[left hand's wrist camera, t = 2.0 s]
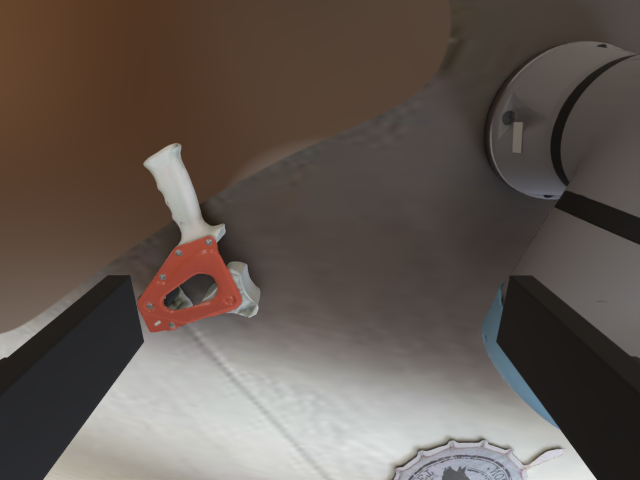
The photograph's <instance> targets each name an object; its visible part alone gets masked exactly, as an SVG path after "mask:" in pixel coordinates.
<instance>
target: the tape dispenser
mask: <svg viewBox="0 0 640 480" xmlns="http://www.w3.org/2000/svg"><path fill="white" fill-rule="evenodd" d="M180 152H181V145H180V144H178V143H175V144H172V145H169V146H167V147H165V148H163V149H162V150H160V151H159V152H158V153H156V154H154V155H152V156H151V157H149V158H148V159H147V160H146V161H145V162H144V166H145V167H146V168H147V169H148V170H149V171H150V172H151V173H152V175H153V176H154V178H155V180H156V182H157V188H158V189H159V190H160V191H161V192H162V194H163V195H164V197H165V203H166V204H167V205H168V206H169V208H170V210H171V212H172V218H173V220H174V221H175V222H176V223H177V224H178V226H179V228H180V230H181V233H182V238H181V241H180V243H179V244H178V246H176V247H175V248H174V249H173V251H172V252H171V254H170V255H169V257H168V258H167V259H166V261H165V262H164V264H163V265H162V267H161V268H160V270H159V271H158V272H157V274H156V275H155V277H154V278H153V280H152V281H151V283H150V284H149V286H148V287H147V288H146V290H145V291H144V292H143V293H142V294H141V295H140V297H139V298H138V302H137V307H138V309H139V311H140V313H141V315H142V316H143V318H144V321H145V323H146V325H147V327H148V329H149V331H150V332H159V331H164V330H168V331H173V330H175V329H177V328H178V327H180V326H182V325H184V324H187V323H191V322H194V321H196V320H199V319H203V318H205V317H212V316H216V315H219V314H224V313H236V314H239V315H241V316H245V317H248V318H249V317H251V316H253V315H256V314H257V311H258V302H259V298H260V289H259V288H258V287H257V286H255V284H254V283H253V282H252V281H251V279H250V277H249V274H248V268H247V264H245V263H243V262H236V261H235V262H230V263H228V265H227V266H226V265H225V263H224V262H223V260H222V258H221V256H220V254H219V251H218V246H217V242H218V241H219V240H220V239H221V237H222V236H223V235H224V234H225V232H226V230H225V224H220V225H217V226H210V225H209V224H207V223H206V222H205V221H204V220H203V218H202V214H201V210H200V207H199V203H198V200H197V196H196V193H195V190H194V188H193V185H192V182H191V180H190V177H189V175H188V172H187V170H186V168H185V166H184V164H183V162H182V160H181V154H180ZM198 273H202V274H208V275H211V276H212V277H213V278H214V280H215V282H216V283H214V284H212V286H211V287H210V288H209V289H208V291H207V293H206V295H205V297H204V299H203V300H202V302H201V303H200V304H198V305H195V306H193V304H192V302H191V301H190V299H189V298H188V297H187V296H186V295H185V294H184V293H183V291H182V290H181V288H180V286H179V285H180V284H182V283H184V282H185V281H186V280H187V279H189V278H190V277H192V276H193V275H195V274H198Z"/></svg>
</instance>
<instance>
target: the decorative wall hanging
mask: <svg viewBox="0 0 640 480" xmlns="http://www.w3.org/2000/svg"><path fill="white" fill-rule="evenodd" d="M513 452H514V450H513V449H509V450H503V449H501V448H498V447H495V446H492V445H489V444H488V441H487V440H482V441H481V442H479V443H457V442H456V441H454V440H452V441H449V442H448V444H447V445H445V446H442V447H438V448H435V449H432V450H429V451H423V450H421V451H419V452H418V455H417V457H416V458H414V459H413V460H412V461H410V462H409V463H408V464H406V465H405V466H404V467H401V468H396V469H395V472H396V476H395V478H394V480H528V476H527V470H528V469H530V468H531V467H533V466H536V465H538V464H541V463H543V462H546V461H549V460H552V459H554V458H556V457H558V456H560V455H562V454H563V453H564V452H565V450H564V449H556V450H550V451H547V452H545V453H544V454H542V455H541V456H539V457H538V458H537V459H536V460H534V461H533V462H532V463H531V464H529V465H523V464H522V463H521V462H520V461H519V460H518V459H517V458H516V457H515V456H513V454H512V453H513Z"/></svg>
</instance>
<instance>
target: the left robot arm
mask: <svg viewBox="0 0 640 480" xmlns="http://www.w3.org/2000/svg"><path fill="white" fill-rule="evenodd" d="M485 148H486V153H487V157H488V160H489V162H490V165H491V167H492V169H493V170H494V172H495V173H496V175H497V176H498V177H499V178H500V179H501V180H502V181H503V182H504V183H505V184H506V185H508V186H509V187H511V188H513V189H514V190H516V191H519V192H521V193H523V194H525V195H528V196H531V197H535V198H541V199H559V200H558V202H557V203H556V205H555V207H553V209H552V210H551V212H550V213H549V215H548V217H547V218H546V220H545V221H544V223H543V224H542V226H541V227H540V229H539V231H538V232H537V234H536V235H535V237H534V238H533V240H532V241H531V243H530V244H529V246H528V248H527V249H526V251H525V252H524V254H523V255H522V257H521V258H520V260H519V261H518V263H517V265H516V266H515V268H514V269H513V271H512V272H511V274H510V275H509V277H508V279H507V280H506V282H502V284H501V285H500V286H499V288H498V290H497V296H496V298H495V300H494V301H493V303H492V305H491V307H490V309H489V310H488V312H487V314H486V316H485V317H484V320H483V323H482V338H483V342H484V345H485V346H486V351H487V353H488V355H489V357H490V359H491V361H492V363H493V364H494V366H495V367H496V369H497V370H498V372H499V373H500V375H501V376H502V377H503V378H504V380H505V381H506V382H507V383H508V384H509V386H510V387H511V388H512V389H513V390H514V391H515V392H516V393H517V394H518V395H519V396H520V397H521V398H522V399H523V401H524V402H526V403H527V404H528V405H529V406H530V407H531V408H532V409H533V410H534V411H535V412H537V413H538V414H539V415H540V416H541V417H543V418H544V419H545V420H547V421H548V422H549V423H551V424H552V425H554V426H555V427H556V428H558V429H560V430H561V431H562V433H563V434H564V435H565V437H566V438H567V439H568V441H569V442H570V444H571V445H572V446H573V448H574V449H575V450H576V452H577V453H578V454H579V456H580V457H581V459H582V460H583V461H584V463H585V464H586V465H587V467H588V468H589V469H590V471H591V472H592V474H593V475H594V476H595V478H596V479H597V480H640V54H637V53H634V52H630V51H624V50H623V49H621V48H619V47H616V46H613V45H610V44H607V43H602V42H593V41H579V42H572V43H568V44H563V45H559V46H555V47H552V48H549V49H546V50H544V51H542V52H540V53H538V54H536V55H534V56H533V57H531V58H530V59H528V60H527V61H525V62H524V63H523V64H522V65H520V66H519V67H518V68H517V69H516V70H515V71H514V72H513V73H512V74H511V75H510V76H509V77H508V78H507V80H506V81H505V82H504V84H503V85H502V86H501V88H500V89H499V91H498V93H497V94H496V96H495V98H494V100H493V102H492V105H491V107H490V110H489V113H488V117H487V121H486V127H485ZM143 343H144V339H143V335H142V330H141V325H140V320H139V315H138V311H137V306H136V301H135V296H134V292H133V287H132V282H131V277H130V275H108V276H107V277H105V278H104V279H103V280H102V281H100V282H99V283H98V284H97V285H96V286H94V287H93V288H92V289H91V290H89V291H88V292H87V293H86V294H85V295H83V296H82V297H81V298H80V299H78V300H77V301H76V302H75V303H74V304H72V305H71V306H70V307H69V308H67V309H66V310H65V311H64V312H63V313H61V314H60V315H59V316H58V317H56V318H55V319H54V320H53V321H52V322H50V323H49V324H48V325H47V326H46V327H44V328H43V329H42V330H41V331H39V332H38V333H37V334H36V335H35V336H33V337H32V338H31V339H30V340H28V341H27V342H26V343H25V344H24V345H22V346H21V347H20V348H19V349H17V350H16V351H15V352H14V353H13V354H11V355H10V356H9V357H8V358H3V359H1V360H0V480H43V479H44V478H45V476H46V475H47V474H48V472H49V471H50V469H51V468H52V467H53V465H54V464H55V463H56V461H57V460H58V459H59V457H60V456H61V454H62V453H63V452H64V450H65V449H66V448H67V446H68V445H69V444H70V442H71V441H72V439H73V438H74V437H75V435H76V434H77V433H78V431H79V430H80V428H81V427H82V426H83V424H84V423H85V422H86V420H87V419H88V418H89V416H90V415H91V413H92V412H93V411H94V409H95V408H96V407H97V405H98V404H99V403H100V401H101V400H102V398H103V397H104V396H105V394H106V393H107V392H108V390H109V389H110V388H111V386H112V385H113V383H114V382H115V381H116V379H117V378H118V377H119V375H120V374H121V373H122V371H123V370H124V368H125V367H126V366H127V364H128V363H129V362H130V360H131V359H132V358H133V356H134V355H135V353H136V352H137V351H138V349H139V348H140V347H141V345H142V344H143Z"/></svg>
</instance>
